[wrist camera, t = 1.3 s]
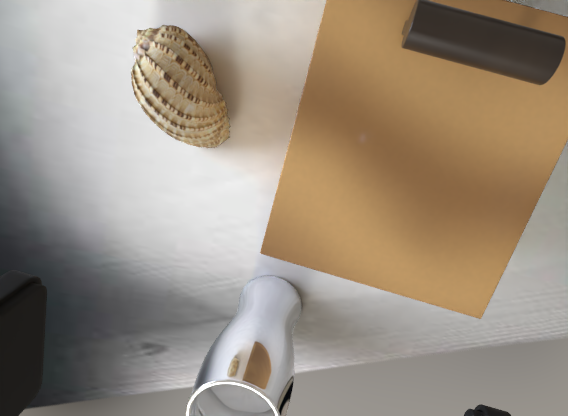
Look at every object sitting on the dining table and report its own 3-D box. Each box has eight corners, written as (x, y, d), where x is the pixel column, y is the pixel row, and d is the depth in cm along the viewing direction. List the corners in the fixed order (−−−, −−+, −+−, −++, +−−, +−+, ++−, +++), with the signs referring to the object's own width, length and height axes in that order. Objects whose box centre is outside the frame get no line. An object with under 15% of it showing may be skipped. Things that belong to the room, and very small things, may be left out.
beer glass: (229, 324, 46) (176, 445, 32) (242, 263, 44) (189, 365, 30) (298, 342, 46) (273, 473, 32) (313, 281, 43) (295, 394, 29)
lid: (338, -42, 23) (333, -68, 18) (612, 31, 23) (693, 27, 17) (262, 248, 29) (241, 294, 24) (477, 312, 28) (506, 374, 23)
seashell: (254, 76, 41) (153, -1, 36) (266, 103, 36) (151, 19, 31) (202, 141, 43) (102, 78, 38) (207, 174, 39) (92, 108, 33)
